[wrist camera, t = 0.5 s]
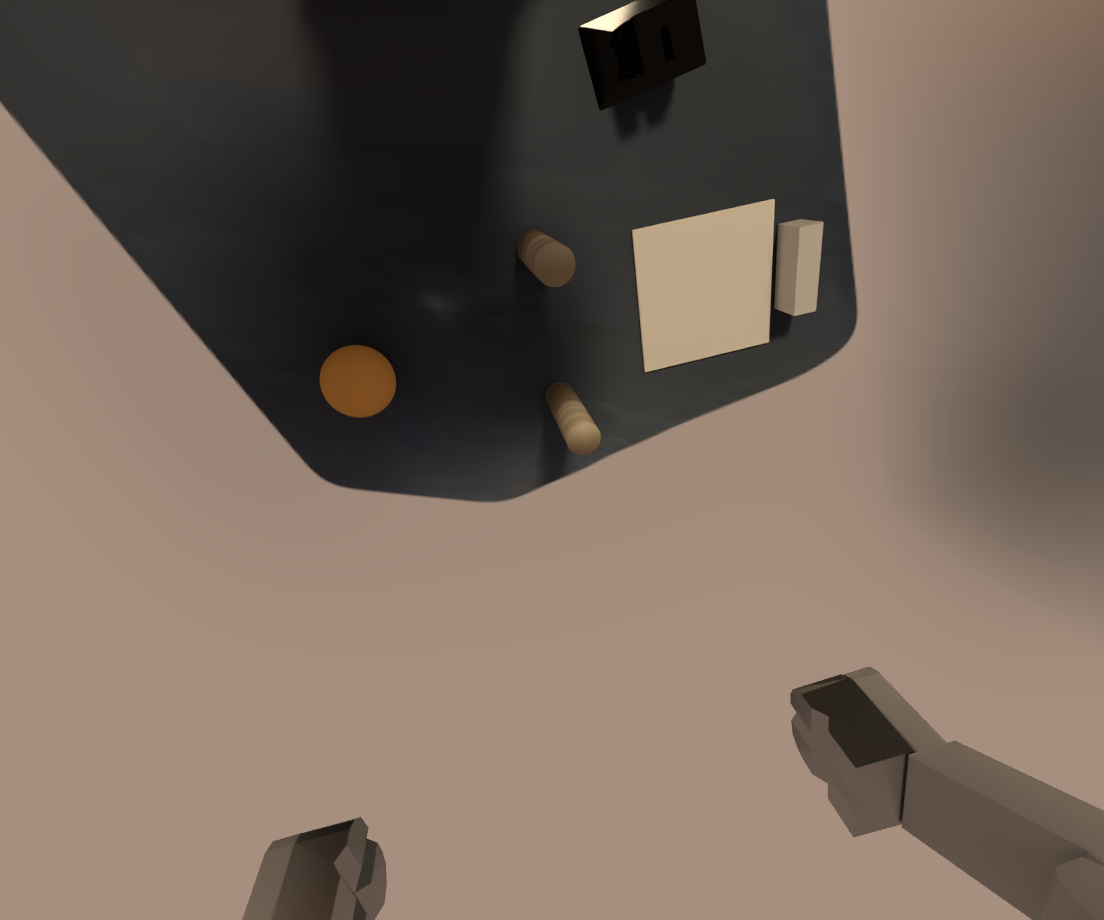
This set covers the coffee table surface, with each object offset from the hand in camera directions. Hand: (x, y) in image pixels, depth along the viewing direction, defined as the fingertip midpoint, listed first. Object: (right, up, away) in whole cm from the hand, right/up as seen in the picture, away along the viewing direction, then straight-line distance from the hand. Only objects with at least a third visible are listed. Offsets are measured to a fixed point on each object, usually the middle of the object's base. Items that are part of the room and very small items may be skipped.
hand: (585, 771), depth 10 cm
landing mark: (+13, +20, +35) cm, 42 cm away
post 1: (-2, +22, +31) cm, 38 cm away
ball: (-15, +12, +30) cm, 36 cm away
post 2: (0, +12, +37) cm, 39 cm away
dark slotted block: (+6, +34, +26) cm, 44 cm away
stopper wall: (+20, +23, +35) cm, 46 cm away
